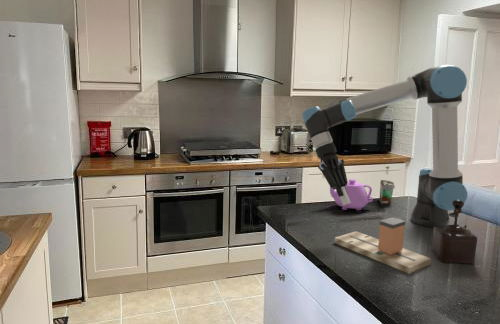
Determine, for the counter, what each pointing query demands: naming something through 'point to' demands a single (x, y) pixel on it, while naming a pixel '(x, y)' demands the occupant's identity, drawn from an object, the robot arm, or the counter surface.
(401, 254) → the fader board
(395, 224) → the fader knob
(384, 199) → the food container
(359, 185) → the teapot
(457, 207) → the coffee grinder
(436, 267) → the counter surface
